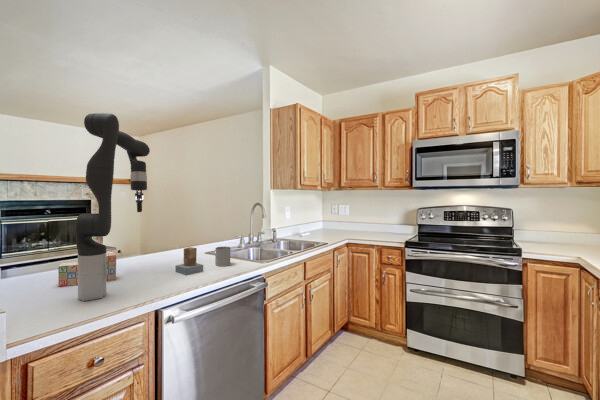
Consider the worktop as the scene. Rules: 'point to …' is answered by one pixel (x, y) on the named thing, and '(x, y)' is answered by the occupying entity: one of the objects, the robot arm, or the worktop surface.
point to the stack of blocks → (70, 271)
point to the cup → (222, 256)
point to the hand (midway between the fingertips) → (139, 211)
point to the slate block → (189, 269)
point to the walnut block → (190, 256)
